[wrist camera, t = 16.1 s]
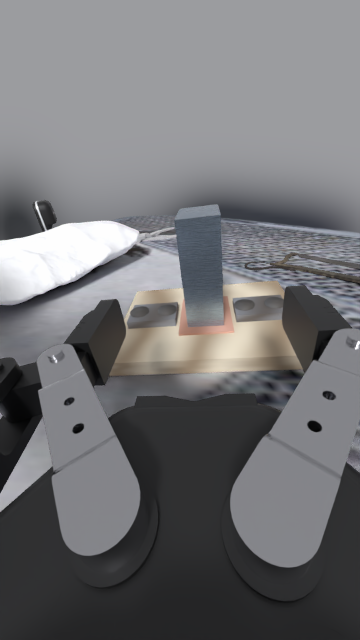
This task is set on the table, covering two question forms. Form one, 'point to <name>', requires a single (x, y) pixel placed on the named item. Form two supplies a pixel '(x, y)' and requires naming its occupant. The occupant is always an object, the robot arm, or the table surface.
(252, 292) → the tan flat wooden board
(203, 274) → the link block
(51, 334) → the table surface
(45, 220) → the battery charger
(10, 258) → the crumpled cloth
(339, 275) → the hacksaw
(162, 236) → the pliers
